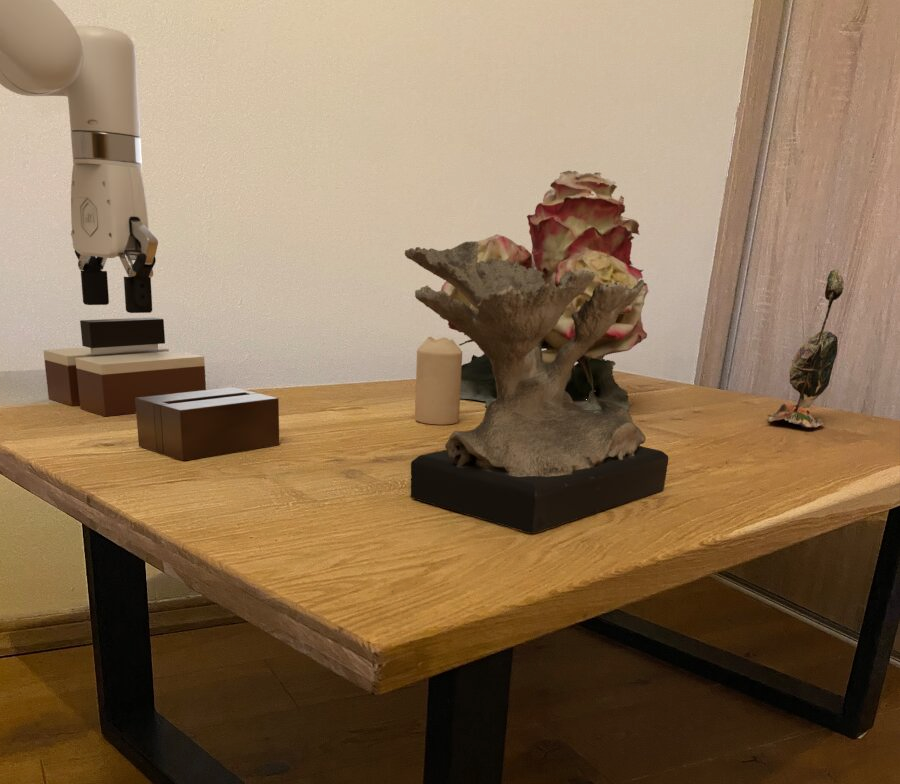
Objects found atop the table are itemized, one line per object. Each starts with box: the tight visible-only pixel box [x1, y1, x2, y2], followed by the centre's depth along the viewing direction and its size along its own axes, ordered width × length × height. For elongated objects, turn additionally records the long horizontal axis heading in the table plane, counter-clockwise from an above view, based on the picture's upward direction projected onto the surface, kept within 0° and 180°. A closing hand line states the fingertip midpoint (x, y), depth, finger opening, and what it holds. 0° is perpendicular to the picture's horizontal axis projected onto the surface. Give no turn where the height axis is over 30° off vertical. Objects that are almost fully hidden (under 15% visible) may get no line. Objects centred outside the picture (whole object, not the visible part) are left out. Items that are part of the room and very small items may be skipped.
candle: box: [414, 336, 463, 426], centre depth 114 cm, size 6×6×10 cm
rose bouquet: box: [440, 170, 650, 414], centre depth 126 cm, size 26×29×30 cm
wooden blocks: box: [42, 346, 207, 418], centre depth 116 cm, size 14×14×6 cm
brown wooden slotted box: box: [135, 386, 280, 462], centre depth 96 cm, size 12×8×5 cm, turn 139°
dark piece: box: [79, 316, 166, 357], centre depth 115 cm, size 10×2×10 cm, turn 139°
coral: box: [404, 240, 669, 534], centre depth 83 cm, size 25×20×22 cm
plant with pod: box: [766, 268, 845, 429], centre depth 122 cm, size 8×11×20 cm
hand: (117, 308), depth 113 cm, fingers open, 9 cm apart
